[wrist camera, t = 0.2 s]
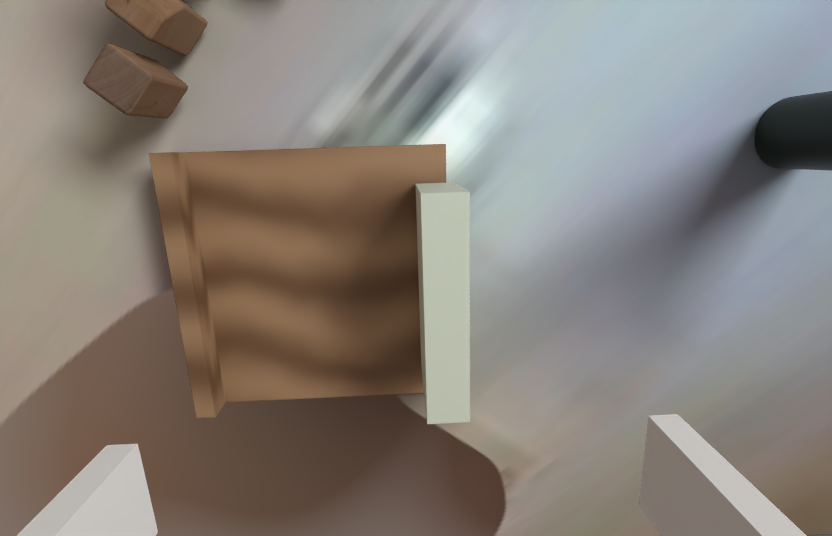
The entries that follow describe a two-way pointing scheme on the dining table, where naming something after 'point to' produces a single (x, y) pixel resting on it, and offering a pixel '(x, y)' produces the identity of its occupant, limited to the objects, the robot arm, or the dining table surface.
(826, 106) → the wine bottle
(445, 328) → the bookend
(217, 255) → the wooden board
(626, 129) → the dining table surface
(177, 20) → the wooden block set
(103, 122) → the dining table surface
